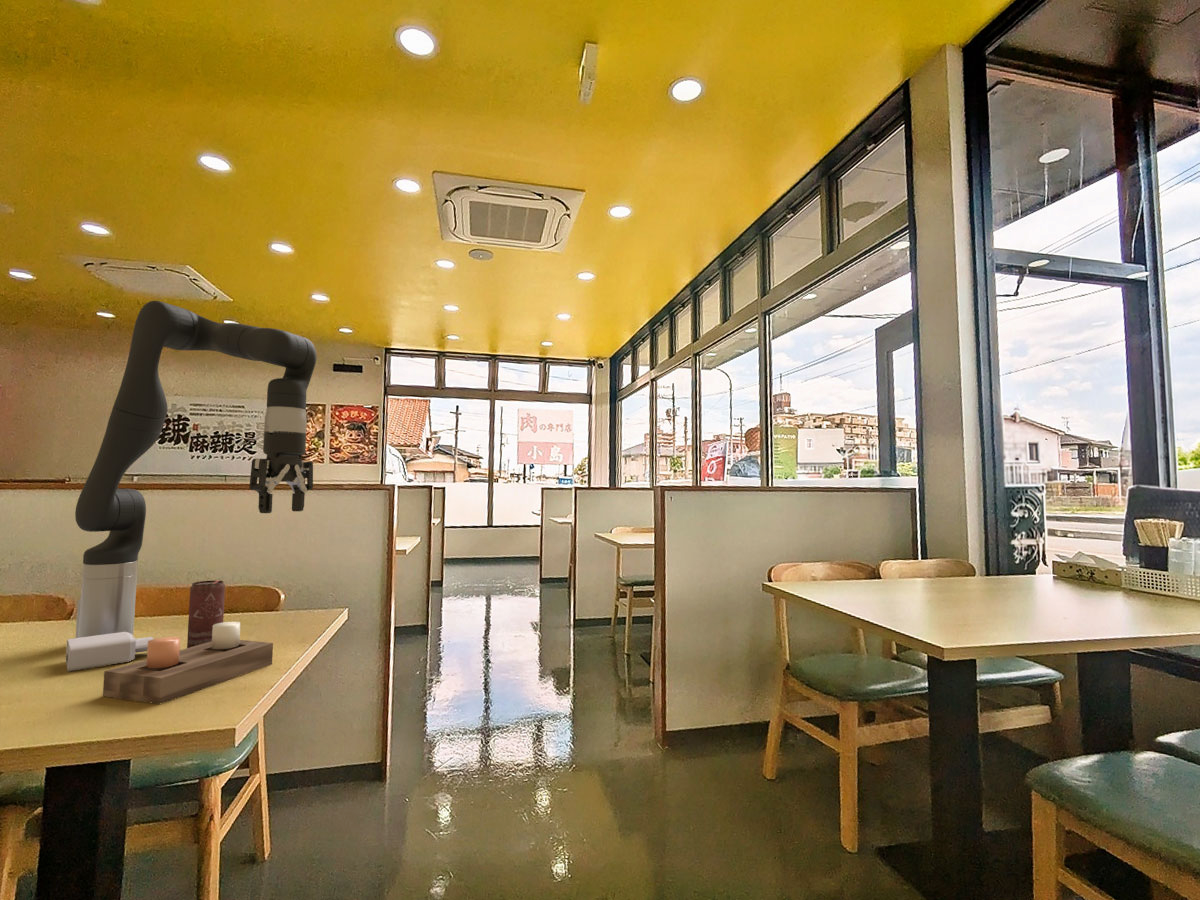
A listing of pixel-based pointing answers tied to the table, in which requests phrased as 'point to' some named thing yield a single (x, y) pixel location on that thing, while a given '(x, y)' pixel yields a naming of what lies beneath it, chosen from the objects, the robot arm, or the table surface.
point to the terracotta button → (163, 652)
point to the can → (204, 610)
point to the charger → (103, 650)
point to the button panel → (186, 672)
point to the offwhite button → (225, 635)
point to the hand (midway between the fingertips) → (281, 512)
